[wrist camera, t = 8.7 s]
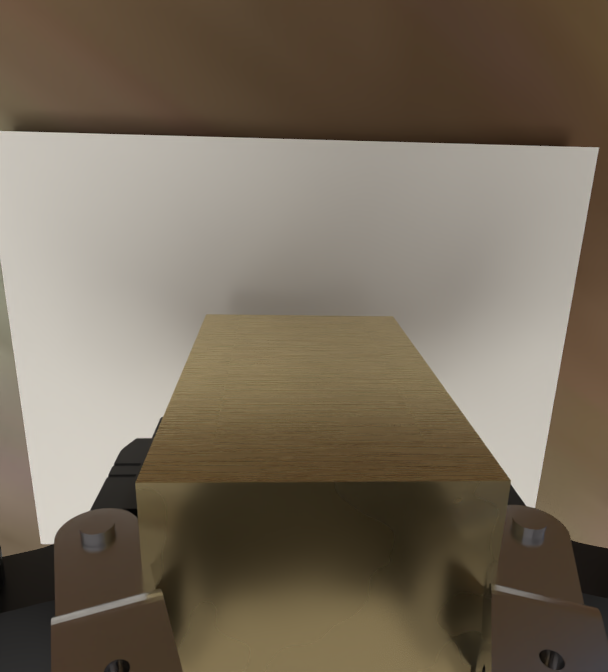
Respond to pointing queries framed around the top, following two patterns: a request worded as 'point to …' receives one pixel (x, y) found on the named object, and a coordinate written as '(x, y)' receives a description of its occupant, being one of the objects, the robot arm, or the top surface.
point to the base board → (277, 275)
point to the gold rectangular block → (318, 502)
